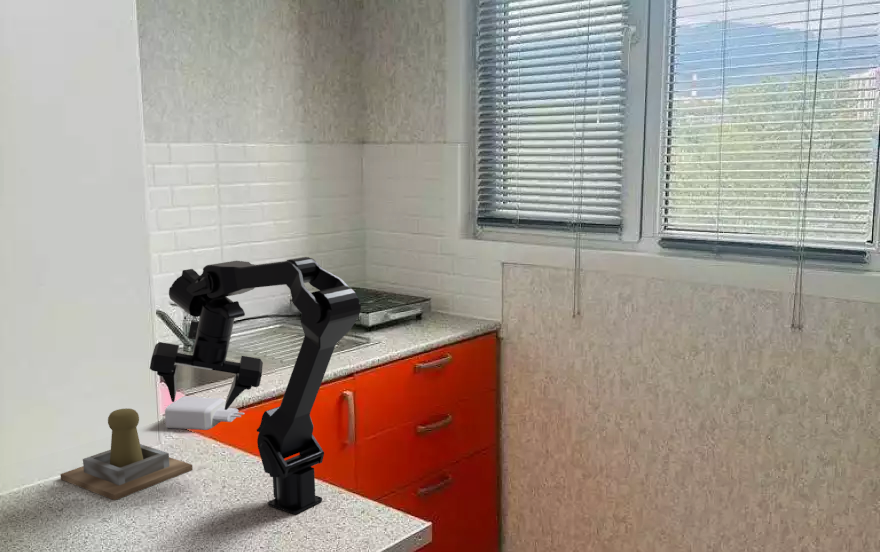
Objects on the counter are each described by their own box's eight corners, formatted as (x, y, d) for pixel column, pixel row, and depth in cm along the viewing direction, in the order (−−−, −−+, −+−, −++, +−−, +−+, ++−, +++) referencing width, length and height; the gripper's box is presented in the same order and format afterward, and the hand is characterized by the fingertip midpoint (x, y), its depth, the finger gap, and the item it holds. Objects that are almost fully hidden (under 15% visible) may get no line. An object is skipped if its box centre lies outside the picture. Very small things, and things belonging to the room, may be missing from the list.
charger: (233, 433, 178) (165, 429, 181) (251, 419, 187) (186, 415, 190) (232, 411, 177) (164, 407, 180) (250, 397, 186) (185, 394, 189)
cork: (144, 461, 160) (140, 403, 159) (145, 473, 155) (141, 413, 153) (109, 465, 158) (105, 407, 157) (108, 478, 153) (104, 417, 151)
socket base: (192, 469, 159) (191, 451, 158) (114, 500, 146) (113, 480, 145) (138, 452, 168) (137, 434, 167) (60, 479, 155) (59, 460, 154)
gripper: (270, 317, 160) (254, 388, 166) (165, 298, 155) (152, 372, 161) (268, 347, 150) (251, 422, 156) (156, 328, 145) (142, 406, 151)
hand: (199, 404), depth 156 cm, fingers open, 9 cm apart
